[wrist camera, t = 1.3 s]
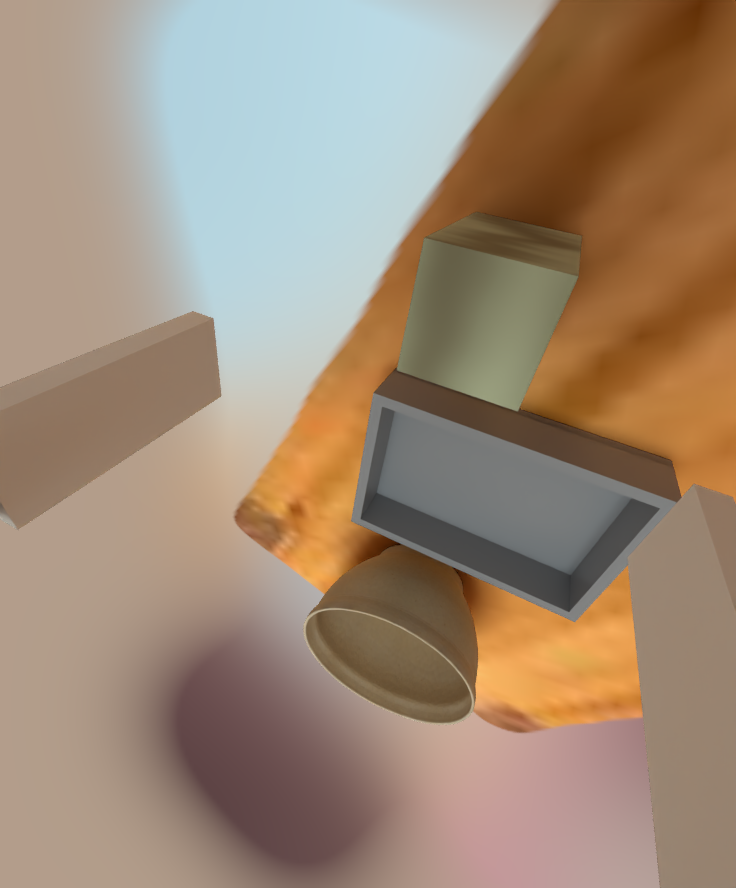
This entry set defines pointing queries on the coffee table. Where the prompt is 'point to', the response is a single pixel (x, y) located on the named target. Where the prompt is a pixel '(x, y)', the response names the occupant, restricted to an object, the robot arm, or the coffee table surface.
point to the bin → (507, 493)
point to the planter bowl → (400, 636)
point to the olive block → (488, 305)
